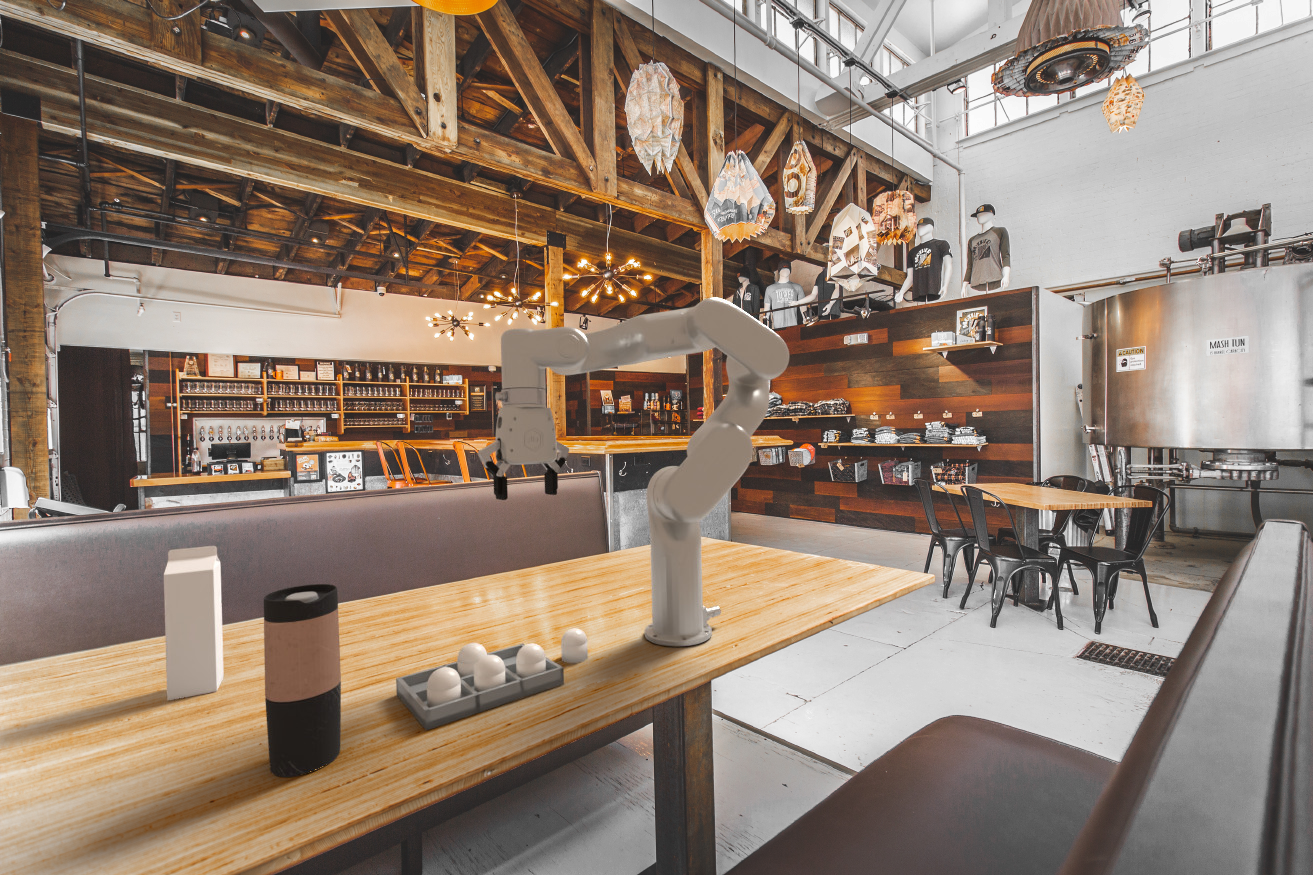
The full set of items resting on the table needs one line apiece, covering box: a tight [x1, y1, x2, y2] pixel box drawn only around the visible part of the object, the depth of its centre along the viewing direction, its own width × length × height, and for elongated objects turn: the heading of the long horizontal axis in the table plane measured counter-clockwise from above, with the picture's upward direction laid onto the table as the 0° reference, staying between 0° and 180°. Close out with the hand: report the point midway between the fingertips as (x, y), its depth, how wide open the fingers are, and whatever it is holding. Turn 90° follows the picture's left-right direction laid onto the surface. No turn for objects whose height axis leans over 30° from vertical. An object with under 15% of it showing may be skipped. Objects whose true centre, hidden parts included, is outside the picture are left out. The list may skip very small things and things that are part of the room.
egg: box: [560, 627, 589, 664], centre depth 97 cm, size 4×4×5 cm
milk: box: [163, 545, 225, 701], centre depth 88 cm, size 6×6×22 cm
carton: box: [395, 642, 565, 731], centre depth 85 cm, size 20×14×6 cm
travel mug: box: [263, 583, 342, 778], centre depth 68 cm, size 8×8×20 cm
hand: (527, 496), depth 100 cm, fingers open, 9 cm apart
